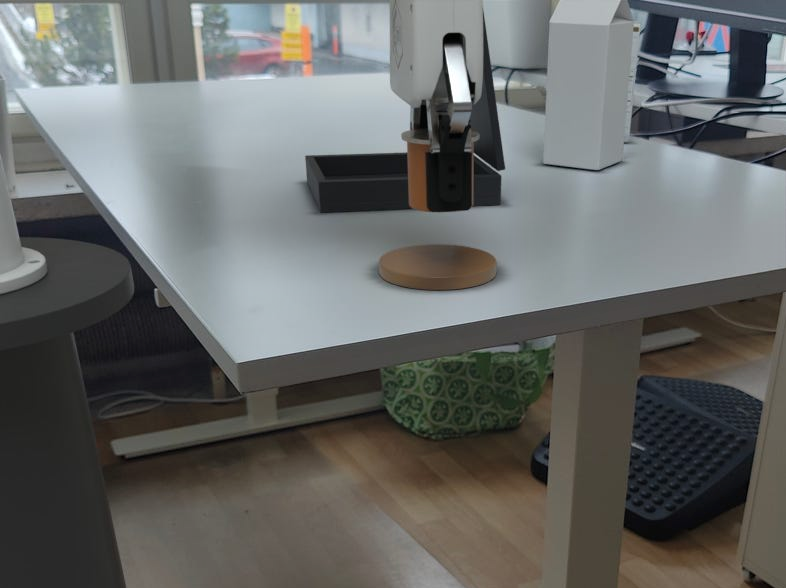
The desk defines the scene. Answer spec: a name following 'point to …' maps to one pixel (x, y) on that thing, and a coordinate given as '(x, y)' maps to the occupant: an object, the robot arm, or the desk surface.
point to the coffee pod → (422, 165)
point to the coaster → (437, 267)
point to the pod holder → (380, 182)
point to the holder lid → (487, 116)
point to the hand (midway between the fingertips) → (440, 198)
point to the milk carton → (587, 83)
